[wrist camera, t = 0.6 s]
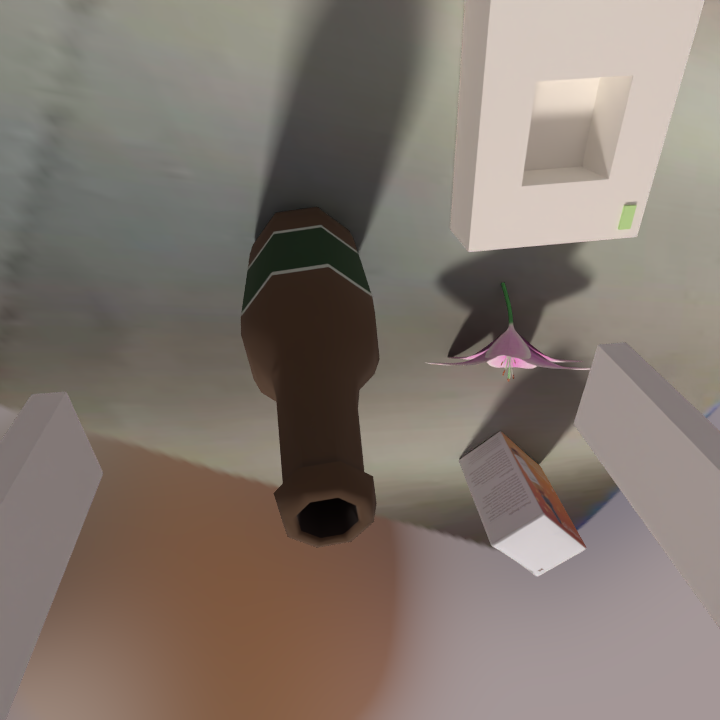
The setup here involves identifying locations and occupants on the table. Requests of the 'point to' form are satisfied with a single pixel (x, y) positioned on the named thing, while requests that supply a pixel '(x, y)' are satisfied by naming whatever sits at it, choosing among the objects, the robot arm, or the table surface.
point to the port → (563, 116)
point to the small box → (519, 506)
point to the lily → (511, 351)
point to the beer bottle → (313, 369)
